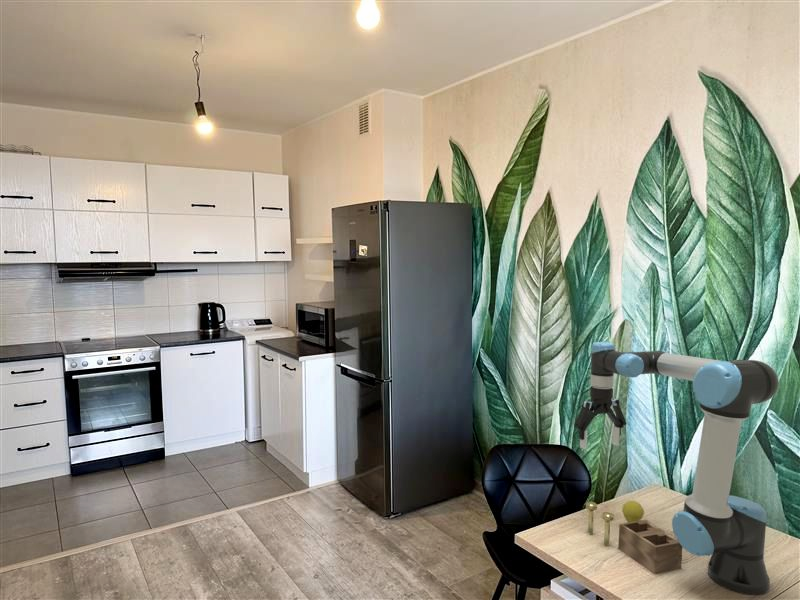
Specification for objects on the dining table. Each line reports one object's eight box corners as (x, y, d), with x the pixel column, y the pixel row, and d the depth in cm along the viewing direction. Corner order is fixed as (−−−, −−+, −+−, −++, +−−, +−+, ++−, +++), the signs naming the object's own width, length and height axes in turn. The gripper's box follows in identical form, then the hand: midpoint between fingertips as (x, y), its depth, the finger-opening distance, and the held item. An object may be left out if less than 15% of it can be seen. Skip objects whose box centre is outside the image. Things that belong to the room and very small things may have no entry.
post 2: (614, 546, 176) (616, 515, 176) (605, 548, 175) (607, 517, 175) (607, 541, 180) (608, 511, 179) (598, 543, 178) (600, 512, 178)
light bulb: (639, 537, 183) (641, 507, 182) (618, 531, 187) (620, 502, 186) (645, 529, 188) (646, 501, 187) (624, 523, 192) (625, 495, 192)
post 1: (597, 534, 184) (599, 505, 183) (589, 536, 183) (590, 506, 182) (591, 530, 187) (592, 501, 186) (582, 531, 186) (584, 502, 185)
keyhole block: (681, 568, 164) (682, 542, 164) (654, 573, 161) (655, 547, 161) (643, 543, 178) (644, 519, 178) (618, 548, 175) (619, 523, 175)
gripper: (623, 382, 201) (621, 440, 202) (564, 386, 193) (562, 446, 194) (638, 386, 194) (636, 446, 195) (578, 391, 185) (576, 453, 187)
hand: (599, 446), depth 194 cm, fingers open, 13 cm apart
